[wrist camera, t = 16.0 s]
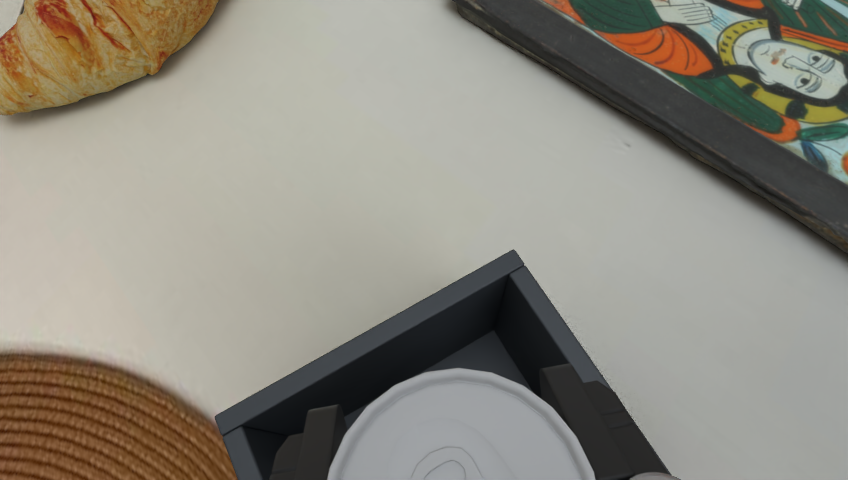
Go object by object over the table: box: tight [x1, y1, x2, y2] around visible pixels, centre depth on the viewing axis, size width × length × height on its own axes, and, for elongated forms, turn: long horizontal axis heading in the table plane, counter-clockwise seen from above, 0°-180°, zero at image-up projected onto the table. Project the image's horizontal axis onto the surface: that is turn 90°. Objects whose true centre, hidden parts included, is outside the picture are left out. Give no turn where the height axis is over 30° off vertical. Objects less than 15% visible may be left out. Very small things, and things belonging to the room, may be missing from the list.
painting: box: [453, 0, 848, 254], centre depth 32 cm, size 28×35×2 cm
